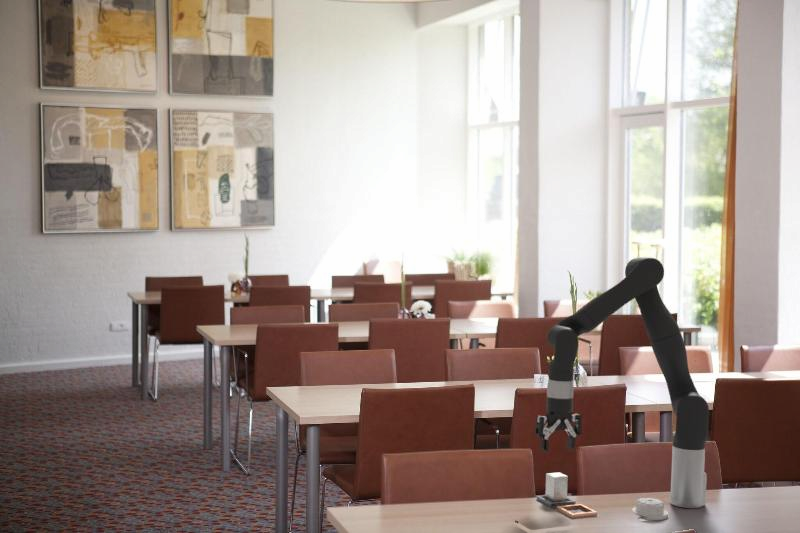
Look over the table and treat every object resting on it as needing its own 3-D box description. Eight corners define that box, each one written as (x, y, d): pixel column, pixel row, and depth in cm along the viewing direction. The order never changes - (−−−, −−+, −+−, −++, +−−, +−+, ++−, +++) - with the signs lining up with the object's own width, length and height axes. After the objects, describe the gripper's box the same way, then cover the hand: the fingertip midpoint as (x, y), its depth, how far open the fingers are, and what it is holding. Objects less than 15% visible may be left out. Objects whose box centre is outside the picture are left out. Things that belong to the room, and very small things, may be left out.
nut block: (558, 499, 299) (559, 472, 299) (566, 503, 295) (567, 476, 295) (545, 500, 297) (546, 473, 297) (553, 504, 293) (554, 477, 293)
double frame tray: (561, 500, 302) (561, 493, 302) (600, 519, 283) (600, 512, 283) (535, 502, 298) (535, 496, 298) (572, 523, 280) (572, 515, 280)
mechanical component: (631, 519, 285) (668, 522, 283) (632, 504, 285) (669, 507, 283) (631, 509, 295) (666, 512, 293) (631, 494, 295) (667, 497, 293)
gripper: (573, 391, 301) (571, 446, 302) (531, 393, 295) (529, 449, 296) (588, 396, 294) (585, 452, 295) (545, 398, 288) (542, 455, 289)
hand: (557, 450), depth 295 cm, fingers open, 8 cm apart
